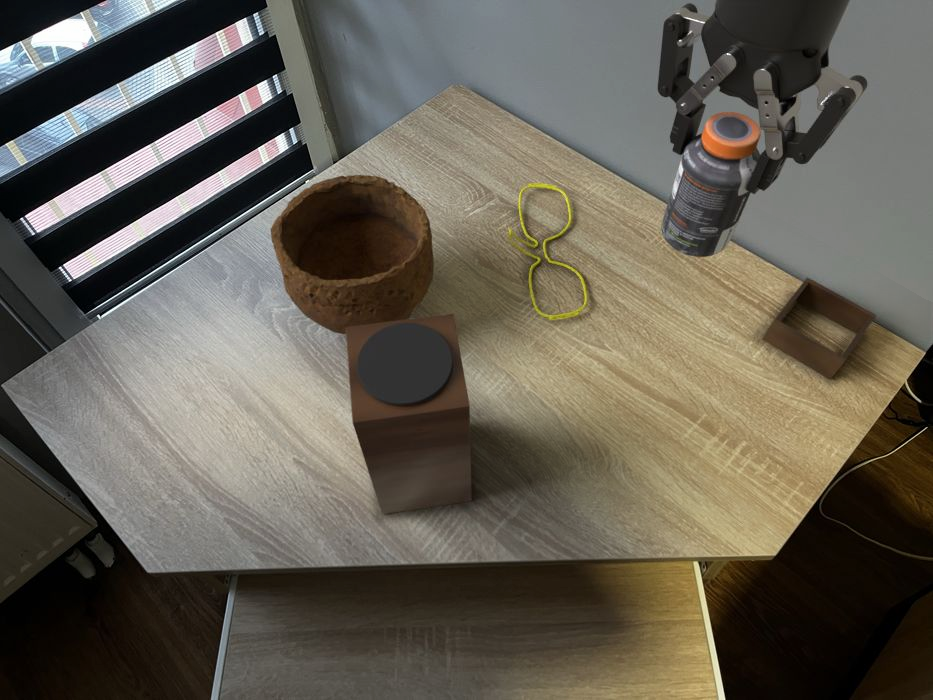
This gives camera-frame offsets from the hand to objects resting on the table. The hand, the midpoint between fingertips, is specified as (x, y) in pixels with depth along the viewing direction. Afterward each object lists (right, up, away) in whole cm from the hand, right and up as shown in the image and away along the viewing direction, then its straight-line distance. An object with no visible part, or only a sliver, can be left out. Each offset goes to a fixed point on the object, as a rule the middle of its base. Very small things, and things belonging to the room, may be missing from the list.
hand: (718, 166), depth 54 cm
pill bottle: (0, -4, +6) cm, 8 cm away
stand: (-25, -28, +26) cm, 45 cm away
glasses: (-9, -1, +43) cm, 44 cm away
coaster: (-25, -16, +7) cm, 30 cm away
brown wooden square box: (+25, -13, +35) cm, 44 cm away
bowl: (-33, -8, +39) cm, 52 cm away
